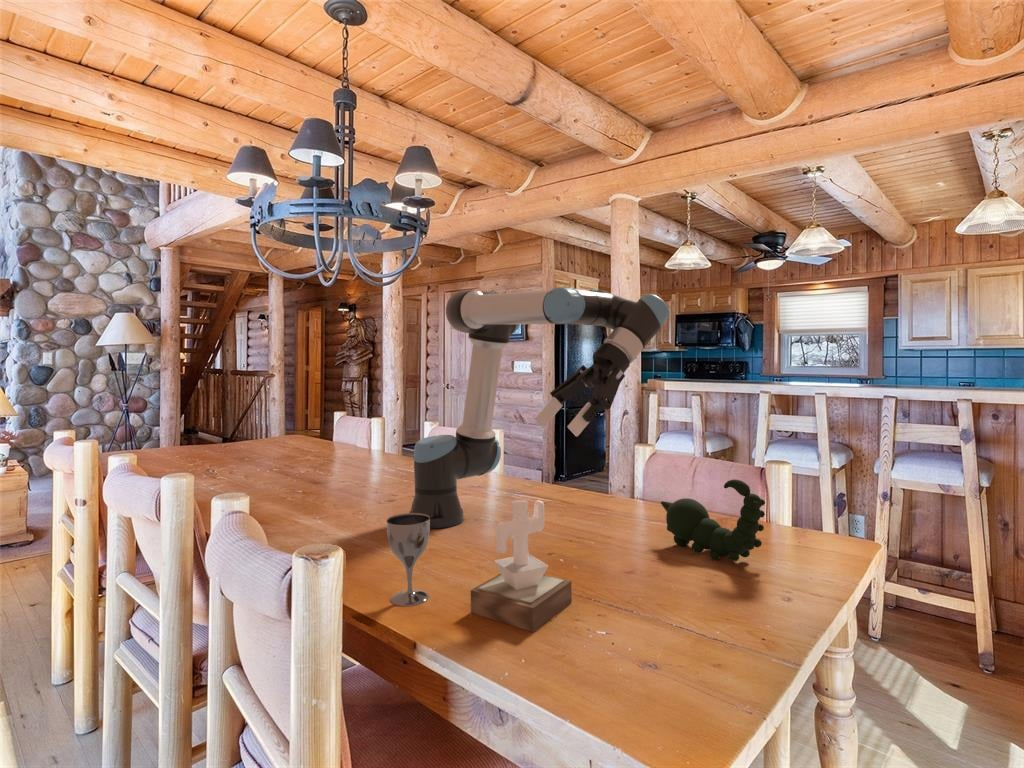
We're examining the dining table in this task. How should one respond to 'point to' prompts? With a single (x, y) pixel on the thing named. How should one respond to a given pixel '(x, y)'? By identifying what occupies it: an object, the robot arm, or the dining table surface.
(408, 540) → the wine glass
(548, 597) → the walnut pedestal
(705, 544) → the toy figurine
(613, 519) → the dining table surface
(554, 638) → the dining table surface
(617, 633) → the dining table surface
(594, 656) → the dining table surface
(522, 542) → the figurine
